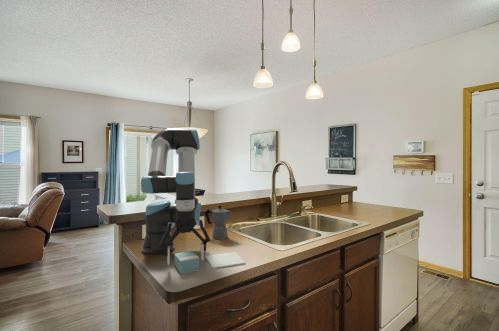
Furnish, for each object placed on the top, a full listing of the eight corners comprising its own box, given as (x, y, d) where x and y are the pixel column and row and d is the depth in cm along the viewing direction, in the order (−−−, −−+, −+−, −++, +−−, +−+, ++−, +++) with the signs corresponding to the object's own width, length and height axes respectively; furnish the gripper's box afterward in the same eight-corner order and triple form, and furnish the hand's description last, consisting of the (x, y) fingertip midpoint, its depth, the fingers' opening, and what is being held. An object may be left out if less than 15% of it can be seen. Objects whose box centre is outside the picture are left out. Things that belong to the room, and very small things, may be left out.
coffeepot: (232, 234, 156) (232, 204, 156) (229, 239, 147) (229, 207, 147) (207, 233, 158) (207, 203, 158) (202, 238, 149) (202, 206, 149)
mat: (205, 257, 121) (205, 256, 121) (234, 253, 126) (234, 251, 126) (213, 269, 108) (213, 267, 108) (245, 263, 113) (245, 262, 113)
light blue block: (174, 265, 112) (174, 253, 112) (191, 262, 116) (191, 250, 116) (180, 274, 103) (180, 261, 103) (199, 270, 107) (199, 257, 107)
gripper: (153, 213, 101) (153, 269, 101) (217, 208, 110) (217, 259, 110) (152, 210, 108) (153, 262, 108) (212, 206, 117) (213, 254, 117)
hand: (185, 261), depth 109 cm, fingers open, 13 cm apart
